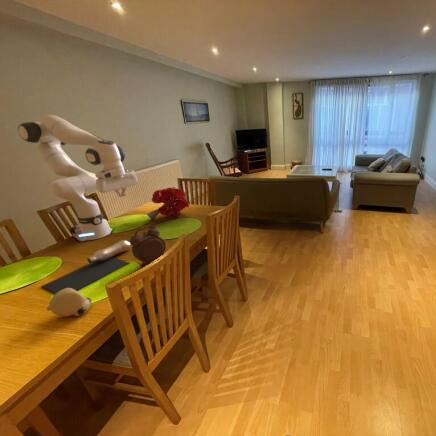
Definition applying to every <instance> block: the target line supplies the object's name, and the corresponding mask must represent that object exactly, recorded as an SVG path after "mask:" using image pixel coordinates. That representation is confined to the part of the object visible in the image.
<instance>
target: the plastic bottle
mask: <svg viewBox="0 0 436 436" xmlns="http://www.w3.org/2000/svg"><path fill="white" fill-rule="evenodd" d="M130 249H132V245H131V243H130V241H128V240H125V239H122V240H119V241H118V242H116V243H115V244H112V245H111V246H110V245H109V246H108V247H105V248H102V249H98V250H97V251H95V252H94V253H93V255H91V256H89V257H88V258H86V261H87V262H88V264H94V263H96V262H104V261H106V260H108V259H109V258H111V257H112V258H114V257H115V256H117V255H119V254H122V253H125V252H128V251H129V250H130Z"/></svg>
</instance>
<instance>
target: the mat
mask: <svg viewBox="0 0 436 436" xmlns="http://www.w3.org/2000/svg"><path fill="white" fill-rule="evenodd" d="M127 265H129V261H128V262H127V261H124V260H121V259H119V258H115V257H111V258H109V259H108V260H106V261H104V262H96V263H94V264H90V263H88V264H86V265H84V266H82V267H79V268H78V269H75V270H74V271H71V272H69V273H67V274H66V275H63V276H60V277H58V278H56V279H54V280H52V281H50V282H48V283H46V284H44V285H41V288H43V289H45V290H48V291H49V292H51V293H53V294H54V295H55V294H56V293H57V292H59V291H61V290H63V289H65V288H72V289H74V290H76V291H78V292H79V291H80V290H82V289H83V288H85V287H87V286H89V285H91V284H93V283H94V282H96V281H98V280H100V279H102V278H104V277H106V276H108V275H110V274H112V273H113V272H116V271H117V270H119V269H121V268H123V267H125V266H127Z"/></svg>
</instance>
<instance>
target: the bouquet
mask: <svg viewBox="0 0 436 436" xmlns="http://www.w3.org/2000/svg"><path fill="white" fill-rule="evenodd" d="M151 202H152V203H154V204H162V205H161V206H159V207H158V208H157V209H154V210H152V211H150V212H148V213H146V215H147V217H148V218H149V219H150V220H154V219H155V218H157V216H158V215H159V214H160V215H162V216H164V217H171V216H175V217H176V218H178V216H180V214H181V212H182V211H183V210H185V209H186V208H190V204H189V202H188V199H187V195H186V193H185V192H184V191H182V190H180V189H179V188H176V187H175V186H173V187H167V188H162V189H157V190H155V191H154V192H153V193H152V197H151Z"/></svg>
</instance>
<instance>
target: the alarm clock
mask: <svg viewBox="0 0 436 436" xmlns="http://www.w3.org/2000/svg"><path fill="white" fill-rule="evenodd" d="M146 228H149V229H148V230H147V231H146V232H142V235H140V234H138V232H139V231H141V230H143V229H146ZM160 233H161V232H160V230H159V229H158V228H156V226H154V227H153V226H152V225H144V226H142V227H139V228H137V230H135V232H134V235H131V236H130V237H131V238H130V239H129V243H130V245H131V253H132V256H133V257H134V258H135V259H137V260H138V261H140V262H141V264H142V266H143V265H144V264H145V263H146V265H147V264H148V265H149V264H151V262H152V261H154V260H155V259H157V258H158V257H160V256H161V255H162V256H164V254H165V252H166V242H165V240H164V239H163V238H162V237H160V236H161V234H160ZM152 263H153V262H152Z"/></svg>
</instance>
